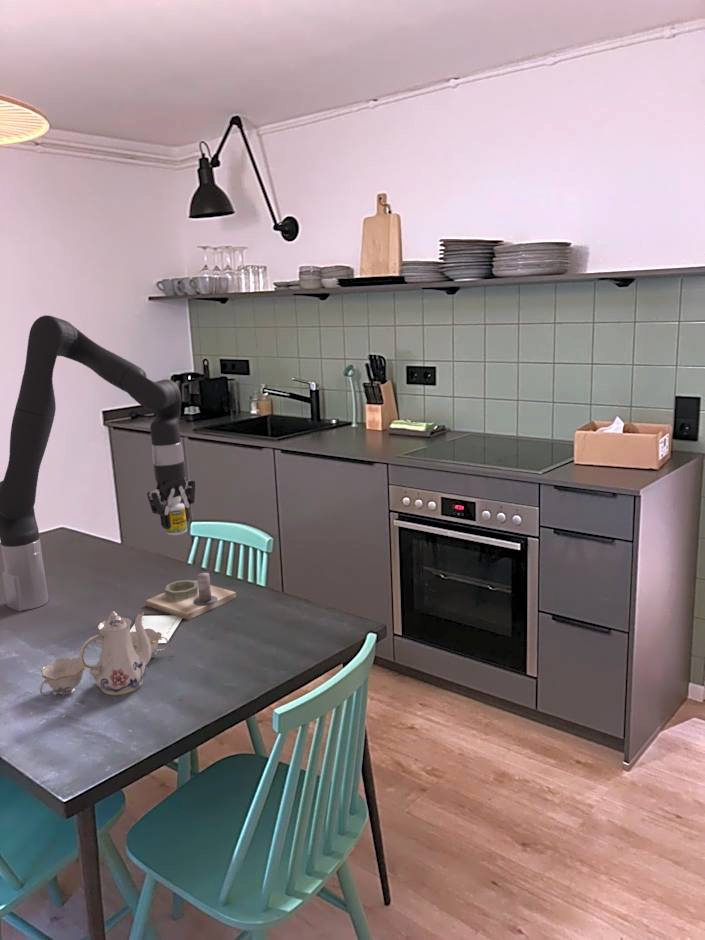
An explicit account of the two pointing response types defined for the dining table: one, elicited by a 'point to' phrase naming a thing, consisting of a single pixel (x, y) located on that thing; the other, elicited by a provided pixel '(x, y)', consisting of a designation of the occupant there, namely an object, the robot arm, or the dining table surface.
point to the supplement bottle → (177, 517)
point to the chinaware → (109, 659)
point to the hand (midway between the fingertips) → (175, 524)
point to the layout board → (190, 597)
